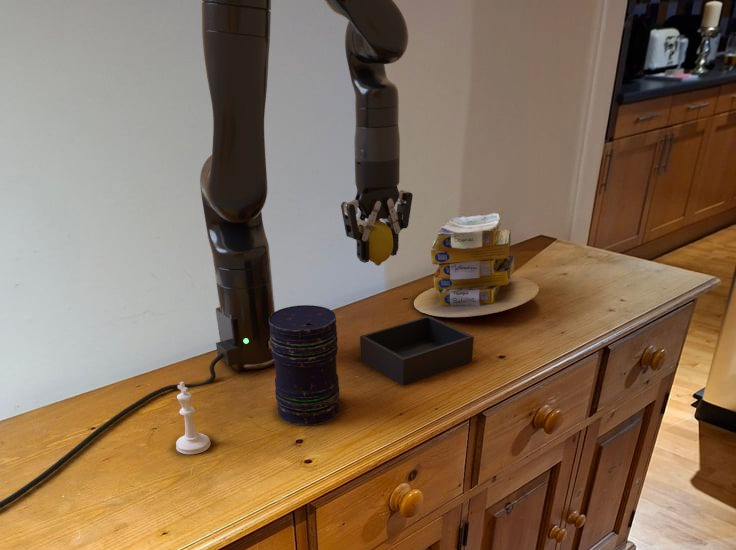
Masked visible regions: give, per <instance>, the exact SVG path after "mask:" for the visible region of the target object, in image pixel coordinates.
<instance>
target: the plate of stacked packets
mask: <svg viewBox="0 0 736 550" xmlns="http://www.w3.org/2000/svg"><path fill="white" fill-rule="evenodd" d="M501 225H502V222H501V217H500V214H499V213H498V212H492V213H490V214H484V213H481V214H475V215H474V214H473V215H464V214H463V213H462V215H461V216H455V217H453V218H446V219H445V220H444V222H443V223H442V225H441V226H440V227H439V231H438V233H437V237H436V239H435V240H434V241H433V243H432V246H431V248H430V256H431V257H430V258H431V264H432V265H438V267H437V269H436V270H435V272H434V275H432V278H433V279H432V280H433V286H434V287H431V288H429V289H427V290H425V291H423V292H422V293H420V294H419V295H418V296H417V297H416V298H415V300H414V301H413V306H414V308H415V309H416V310H417V311H419V312H420V313H422V314H426V315H428V316H434V317H441V318H466V317H469V318H470V317H476V316H485V315H489V314H494V313H500V312H503V311H506V310H510V309H513V308H516V307H518V306H521V305H523V304H526V303H527V302H529V301H530V300H532V299H533V298H535V297H536V296H537V295H538V293H539V291H540V288H539V286H538V284H537V283H536V282H534V281H532V280H530V279H528V278H523V277H518V276H513V274H514V271H515V256H516V253H513V254H512V255H510V254H511V252H510V249H511V243H512V237H511V236H512V231H511V230H509V229H503V230H500V226H501Z"/></svg>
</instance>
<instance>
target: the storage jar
mask: <svg viewBox="0 0 736 550" xmlns="http://www.w3.org/2000/svg"><path fill="white" fill-rule="evenodd" d="M269 326H270V343H271V347H272V349H271V353H272V356H273V358H274V361H275V364H274V370H275V378H274V387H275V389H274V393H275V400H276V405H277V415H278V417H279V418H280V419H281V420H282V421H284V422H286V423H288V424H292V425H296V426H315V425H317V426H318V425H321V424H325V423H327V422H329V421H331V420H334V419H335V418H336V417H337V416H338V415H339V413H340V410H341V409H340V395H341V394H340V391H341V390H340V389H341V388H340V384H339V383H340V382H339V380H340V379H339V375H338V373H337V372H338V371H337V354H338V349H339V347H338V331H337V314H336V313H335V312H334V311H333V309H330V308H327V307H324V306H320V305H312V304H311V305H310V304H303V305H302V304H299V305H293V306H286V307H283V308H280V309H277V310H275V312H274V313H272V314H271V315H270V317H269Z"/></svg>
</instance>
